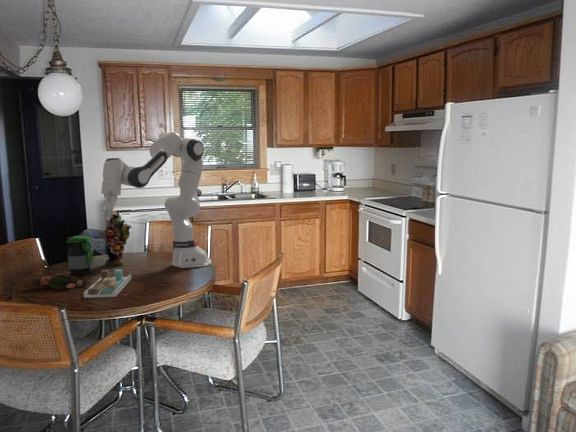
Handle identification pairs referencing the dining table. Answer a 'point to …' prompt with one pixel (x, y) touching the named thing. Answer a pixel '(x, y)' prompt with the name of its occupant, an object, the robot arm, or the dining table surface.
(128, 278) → the lane board
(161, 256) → the dining table surface
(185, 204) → the robot arm
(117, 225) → the flower bouquet vase
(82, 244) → the potted plant
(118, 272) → the strip teal
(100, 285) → the strip walnut
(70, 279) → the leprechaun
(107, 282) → the maple cube
